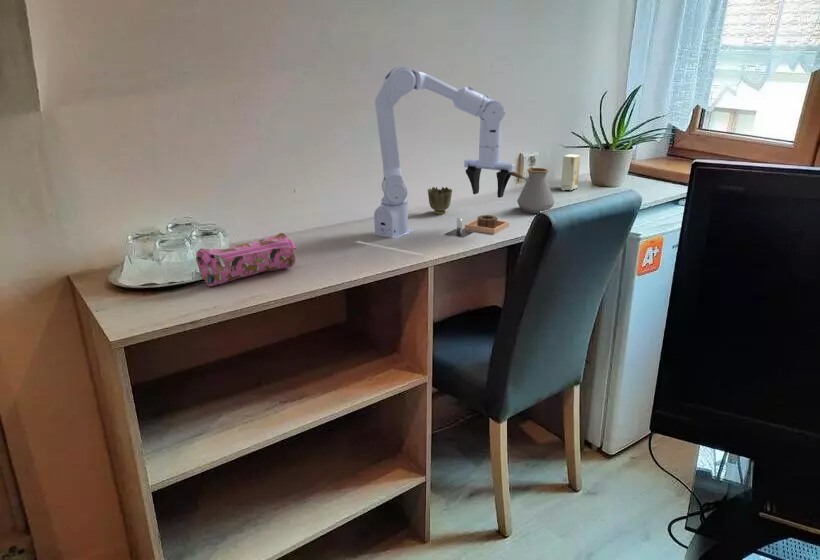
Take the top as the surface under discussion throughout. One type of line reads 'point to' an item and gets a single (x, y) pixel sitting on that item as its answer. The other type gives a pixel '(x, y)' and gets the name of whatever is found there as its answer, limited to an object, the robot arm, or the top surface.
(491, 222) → the ring
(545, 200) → the coffee pot
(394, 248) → the top surface
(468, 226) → the dish
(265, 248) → the pencil case
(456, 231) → the stand
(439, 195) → the cup
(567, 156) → the skincare box
